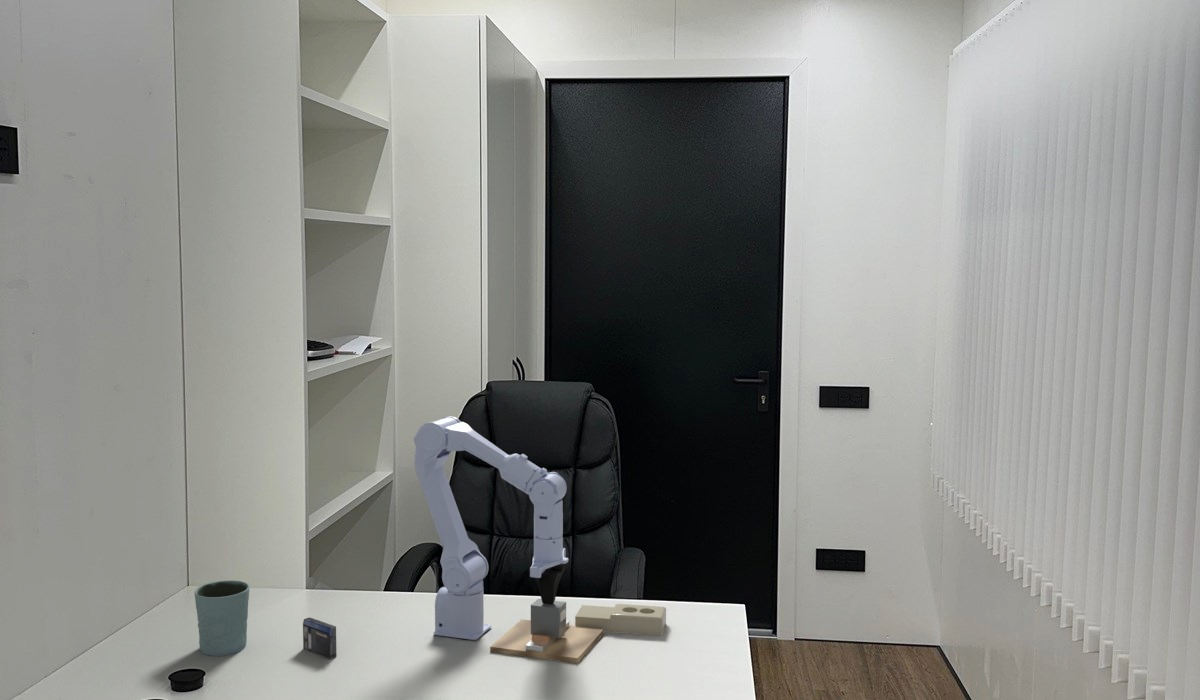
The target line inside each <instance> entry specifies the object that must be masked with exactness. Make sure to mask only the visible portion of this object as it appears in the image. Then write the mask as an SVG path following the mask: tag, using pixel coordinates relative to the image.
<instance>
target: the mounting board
mask: <svg viewBox="0 0 1200 700" xmlns="http://www.w3.org/2000/svg"><path fill="white" fill-rule="evenodd" d="M604 633H605V632H604V629H597V628H589V627H580V626H575V625H572V624H569V627H568V628H567V629H566V632H565V633H564V634H563V635H562V636H561V637H560V638H557V639H556V640H555V641H554V642H553V643H552V644H551V645H550V646H549V647H548V648H547V649H546V650H545V651H544V652H535V651H527V650H526V645H527V644H528V643H529V642H530V641H531V640H532V635H531V619H530V620H529V619H520V620H519V621H518V622H517V623H515V625H514V626H512V627H511V628H510V629H509V630H508V631H506V632H505V633H504V634H503V635H502V636H500V638H498V639H497V640H496V641H495V642H494V643H493V644H492V645H490V646H489V651H490V653H498V654H504V655H505V654H506V655H513V656H520V657H527V658H535V659H543V660H551V661H557V662H564V663H572V664H578V663H580V661H582V659H583V658H584V657H585V656H586V655H587V654H588V653H589V651H590V650H591V649H592V648H593V646H594V645H595V644H596V643H597V642H598V641H599V640H600V639H601V637H603V635H604Z"/></svg>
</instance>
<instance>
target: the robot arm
mask: <svg viewBox="0 0 1200 700" xmlns="http://www.w3.org/2000/svg"><path fill="white" fill-rule="evenodd" d="M413 443H414V445H415V450H414V451H415V454H414V463H413V466H414V470H415V473H416V476H417V479H418V481H419V484H420V486H421V489H422V492H423V496H424V498H425V501H426V503H427V504H426V505H427V507H428V509H429V512H430V516H431V518H432V520H433V523H434V527H435V530H436V532H437V535H438V537H439V541H440V543H441V547H442V553H441V555H440V556H441V557H440V560H439V561H440V562H439V563H440V565H441V568H442V572H441V579H442V583H443V586H442V587H440V588H439V590H438V591H437V593H436V597H435V601H434V631H433V635H434V636H440V637H448V638H456V639H464V640H470V641H471V640H472V641H476V640H477V639H478V638H480V637H481V636H482V635H483V634H484V633H486V632H487V631H488V630H490V629H491V628H492V625H491V624H489V623H488V624H487V623H485V622H484V621H485V620H484V619H485V618H484V616H485V615H484V614H485V613H484V610H485V609H484V581H483V580H484V579H485V578H486V576H487V575H488V572H489V563H488V560H487V558H486V557H485V556H484V555H483V554H482V553H481V552H480V549H479V547H478V545H477V543H475V542H474V541H473V540H471V539H470V538H469V536H468V533H467V530H466V527H465V524H464V522H463V519H462V516H461V514H460V511H459V508H458V505H457V503H456V500H455V498H454V497H455V496H454V494H453V492H452V488H451V486H450V483H449V479H448V478H447V474H446V471H445V469H444V465H445V464H446V462H447V460H448V457H449V456H450V454H451V453H452V452H462V451H466V452H468V453H469V454H471V455H473V456H475V457H477V458H478V459H481V460H482V461H483V462H486V463H487V464H489V465H490V466H493V468H496V469H498V471H499V474H500V477H501V479H502V480H504V481H505V482H507V483H509V484H510V485H512V486H514V487H515V488H517V489H518V490H520V491H522V492H523V493H524V494H527V495H528V497H529V500H530V501H531V503H532V504H533V556H532V562H531V563H532V564H531V566H530V567H529V577H530V578H534V580H535V582H536V585H537V587H538V592H539V594H540V599H541V600H542V603H544V604H553V603H554V601H556V598H557V592H558V587H559V584H560V581H561V578H562V575H563V573H564V572H565V569H566V566H565V564H567V563H568V562H569V558H568V557H566V548H565V547H564V546H563V545H564V544H563V543H564V537H563V534H564V520H563V519H564V512H563V510H564V509H563V507H564V506H563V505H564V504H563V498H564V497H565V495H566V493H567V491H568V490H567V489H568V487H567V482H566V480H565V479H564V477H563V476H561V475H560V474H559V473H558V472H556V471H551V472H548V470H547V468H545V467H542V468H541V467H539V466H538V465H536V464H535V463H533V462H532V461H530V460H528V456H527V455H526V454H524V453H522V454H518V453H512V454H508V453H506V452H505V451H503V450H502V449H501V448H499V447H498V446H497V445H495V444H494V443H493V442H491V441H489V440H488V439H487V438H485V437H484V436H482V435H481V434H479V432H477V431H475V430H474V429H473V428H472V427H471V426H470V425H469V424H468V423H466V422H464V421H461V420H460V419H459V418H457V417H455V416H447V415H446V416H445V417H442V418H440V419H438V420H433V421H429V422H428V421H427V422H425V423H423V424H422V425H421V426H420V427H419V428H418V431H417V432H416V433H415V435H414V437H413Z"/></svg>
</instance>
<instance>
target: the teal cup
mask: <svg viewBox="0 0 1200 700" xmlns="http://www.w3.org/2000/svg"><path fill="white" fill-rule="evenodd" d="M249 599H250V585H249V584H248V583H247V582H246V581H245V582H244V581H241V580H233V579H232V580H217V581H212V582H208V583H205V584H204V583H203V584H202V585H200V586H198V587H196V588H195V590H194V601H195V609H196V614H197V616H196V617H197V622H198V623H197V627H198V636H199V637H198V639H199V641H198V645H199V646H198V647H199V651H200V653H201V654H203V655H205V656H210V657H221V656H229V655H233V654H236V653H238V652H241V651H242V650H244V649H246V647H247V637H248V635H247V630H248V616H249Z"/></svg>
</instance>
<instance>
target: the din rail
mask: <svg viewBox="0 0 1200 700" xmlns="http://www.w3.org/2000/svg"><path fill="white" fill-rule="evenodd" d="M569 625H570V620H569V621H568V620H566V629H567V628H568V627H569ZM556 639H557V638H553V637H551V635H550V634H542V633H533V634H532V640H531V641H530V642H529V643H528V644H527V645H526V650H527V651H535V652H544V651H545V650H546V649H547V648H548V647H549V646H550V645H551V644H552V643H553V642H554V641H555V640H556Z"/></svg>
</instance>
